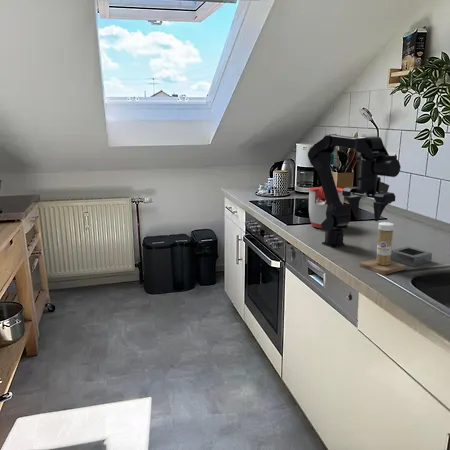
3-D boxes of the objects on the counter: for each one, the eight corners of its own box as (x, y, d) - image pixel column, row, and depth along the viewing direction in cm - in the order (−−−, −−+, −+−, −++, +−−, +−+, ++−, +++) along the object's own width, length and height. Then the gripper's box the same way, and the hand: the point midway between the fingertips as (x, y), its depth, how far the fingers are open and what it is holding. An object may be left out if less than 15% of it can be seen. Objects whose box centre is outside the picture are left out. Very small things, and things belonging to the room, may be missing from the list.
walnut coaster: (359, 266, 140) (359, 262, 140) (380, 260, 145) (380, 257, 145) (384, 274, 132) (384, 271, 132) (405, 269, 137) (405, 265, 137)
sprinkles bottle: (376, 265, 137) (378, 224, 134) (375, 260, 141) (378, 221, 138) (391, 266, 136) (394, 225, 133) (390, 262, 140) (393, 222, 137)
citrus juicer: (301, 229, 189) (302, 184, 184) (313, 221, 204) (314, 179, 199) (337, 233, 182) (339, 186, 177) (346, 224, 197) (348, 181, 192)
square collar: (389, 258, 147) (390, 250, 146) (407, 254, 152) (407, 246, 151) (413, 266, 139) (414, 257, 138) (431, 261, 144) (432, 252, 143)
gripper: (408, 175, 142) (404, 220, 145) (364, 170, 157) (361, 211, 161) (385, 177, 136) (381, 225, 140) (342, 172, 152) (340, 215, 156)
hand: (366, 218), depth 149 cm, fingers open, 9 cm apart
